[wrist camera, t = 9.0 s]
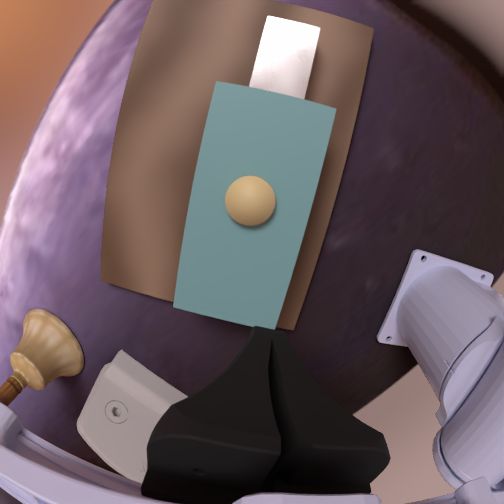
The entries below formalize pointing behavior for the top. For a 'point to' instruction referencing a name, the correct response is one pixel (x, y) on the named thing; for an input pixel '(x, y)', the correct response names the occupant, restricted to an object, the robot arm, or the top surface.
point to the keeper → (250, 203)
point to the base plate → (193, 124)
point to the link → (285, 57)
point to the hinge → (125, 414)
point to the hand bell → (42, 355)
